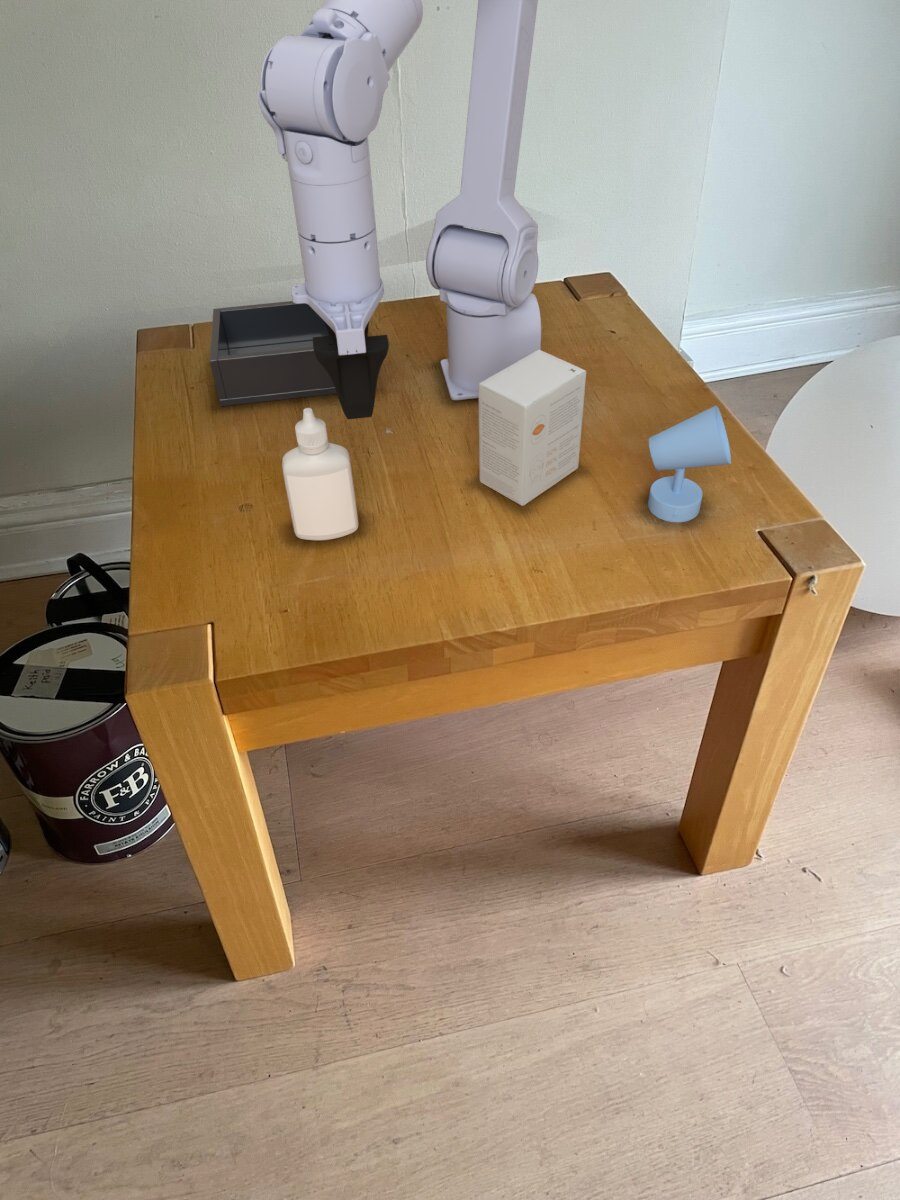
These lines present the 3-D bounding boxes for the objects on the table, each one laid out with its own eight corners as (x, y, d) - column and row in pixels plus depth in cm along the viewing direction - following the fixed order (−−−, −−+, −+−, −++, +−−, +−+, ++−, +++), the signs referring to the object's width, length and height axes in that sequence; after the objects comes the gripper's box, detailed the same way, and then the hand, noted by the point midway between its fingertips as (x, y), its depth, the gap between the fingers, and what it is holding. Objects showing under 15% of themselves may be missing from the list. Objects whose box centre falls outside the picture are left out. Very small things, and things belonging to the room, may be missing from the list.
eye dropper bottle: (345, 550, 76) (328, 431, 67) (286, 537, 77) (262, 419, 69) (366, 519, 79) (351, 401, 70) (309, 507, 80) (288, 390, 72)
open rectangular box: (359, 338, 102) (354, 294, 99) (369, 390, 94) (364, 344, 90) (223, 352, 101) (213, 308, 97) (220, 406, 93) (209, 360, 89)
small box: (534, 446, 86) (539, 346, 79) (579, 469, 83) (588, 368, 76) (477, 482, 82) (476, 381, 75) (522, 508, 79) (525, 406, 72)
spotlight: (718, 493, 80) (640, 486, 81) (740, 396, 73) (655, 389, 74) (719, 528, 76) (638, 520, 77) (743, 429, 69) (653, 422, 70)
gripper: (280, 196, 70) (305, 353, 79) (283, 274, 59) (310, 444, 69) (370, 188, 70) (383, 345, 80) (387, 265, 60) (401, 435, 70)
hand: (355, 391), depth 74 cm, fingers open, 7 cm apart
